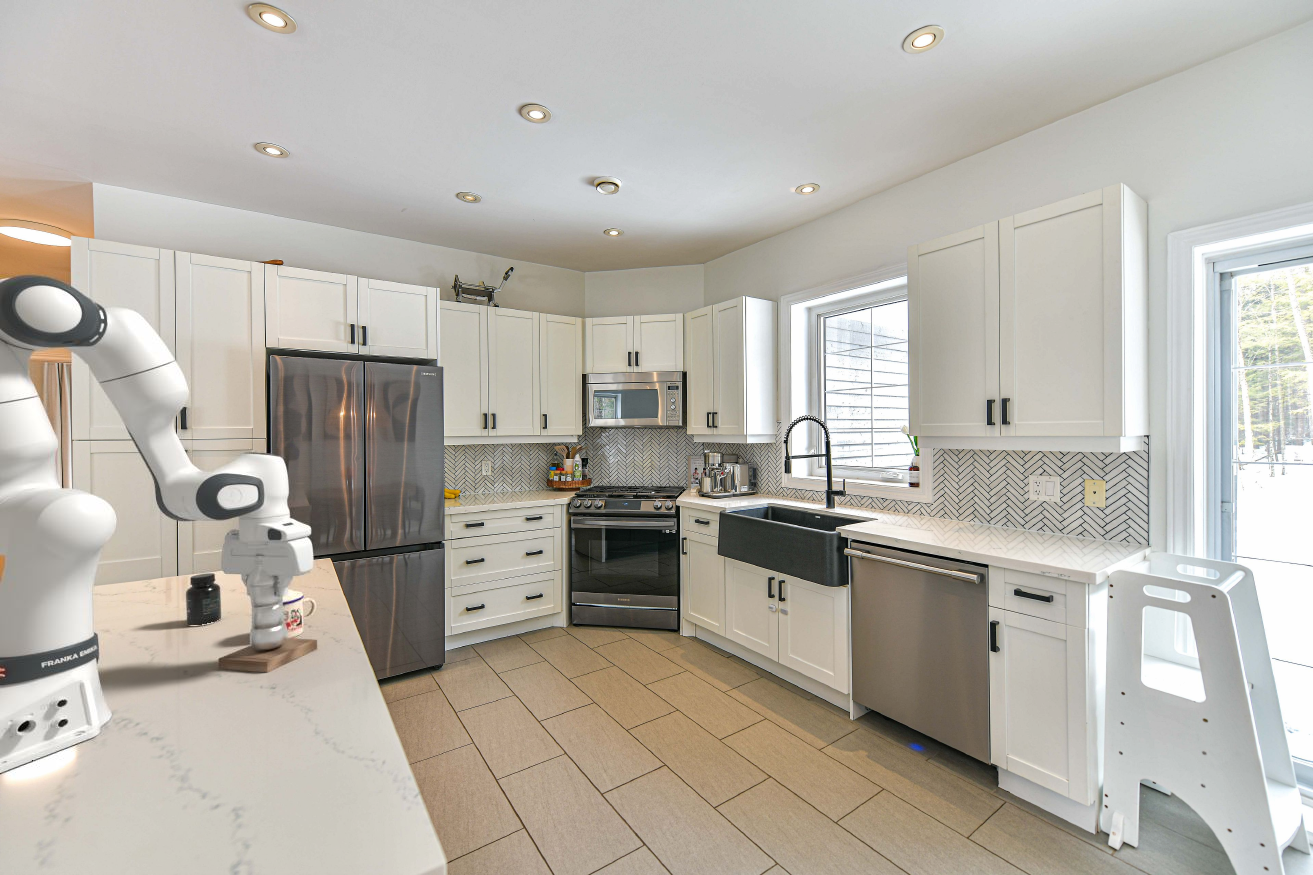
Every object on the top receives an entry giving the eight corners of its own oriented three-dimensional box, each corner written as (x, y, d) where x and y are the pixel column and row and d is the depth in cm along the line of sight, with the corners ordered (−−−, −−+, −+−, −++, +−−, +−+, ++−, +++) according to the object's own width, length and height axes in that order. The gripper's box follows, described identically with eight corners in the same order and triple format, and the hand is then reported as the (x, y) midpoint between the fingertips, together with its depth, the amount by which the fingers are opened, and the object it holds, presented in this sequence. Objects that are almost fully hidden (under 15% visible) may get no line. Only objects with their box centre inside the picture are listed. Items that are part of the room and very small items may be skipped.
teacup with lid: (267, 645, 125) (265, 593, 125) (251, 637, 130) (249, 587, 130) (324, 629, 135) (323, 581, 134) (308, 622, 140) (306, 576, 140)
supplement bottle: (182, 624, 142) (180, 576, 142) (215, 616, 148) (213, 570, 148) (192, 628, 138) (190, 580, 138) (226, 620, 144) (224, 573, 144)
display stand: (267, 672, 110) (267, 661, 110) (218, 668, 113) (218, 657, 113) (317, 648, 122) (316, 639, 122) (272, 645, 125) (271, 636, 125)
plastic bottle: (295, 642, 120) (292, 549, 120) (269, 655, 114) (266, 556, 113) (268, 641, 121) (265, 549, 121) (241, 654, 114) (237, 556, 114)
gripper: (210, 531, 117) (213, 598, 117) (292, 532, 112) (294, 601, 112) (239, 526, 123) (242, 589, 123) (317, 527, 118) (320, 592, 118)
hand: (268, 595), depth 117 cm, fingers closed on plastic bottle, 6 cm apart
